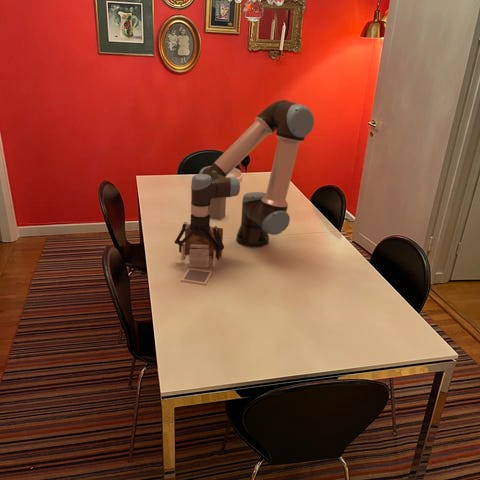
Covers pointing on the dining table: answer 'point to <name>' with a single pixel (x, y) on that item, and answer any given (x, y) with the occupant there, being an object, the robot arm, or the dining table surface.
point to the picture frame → (196, 276)
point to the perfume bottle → (217, 208)
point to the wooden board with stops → (202, 242)
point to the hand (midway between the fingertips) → (198, 261)
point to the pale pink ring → (237, 173)
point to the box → (199, 256)
